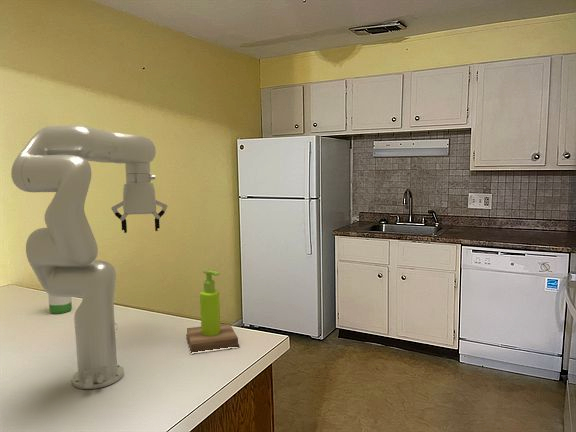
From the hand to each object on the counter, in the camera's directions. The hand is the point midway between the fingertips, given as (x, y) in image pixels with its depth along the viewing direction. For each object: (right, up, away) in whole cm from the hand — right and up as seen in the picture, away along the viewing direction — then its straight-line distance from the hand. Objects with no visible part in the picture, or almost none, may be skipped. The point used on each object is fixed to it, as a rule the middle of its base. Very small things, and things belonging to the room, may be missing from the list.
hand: (141, 231), depth 146 cm
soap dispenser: (+24, -32, -5) cm, 40 cm away
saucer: (-16, -34, +7) cm, 38 cm away
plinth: (+24, -35, -5) cm, 43 cm away
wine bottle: (-40, -32, +28) cm, 58 cm away
